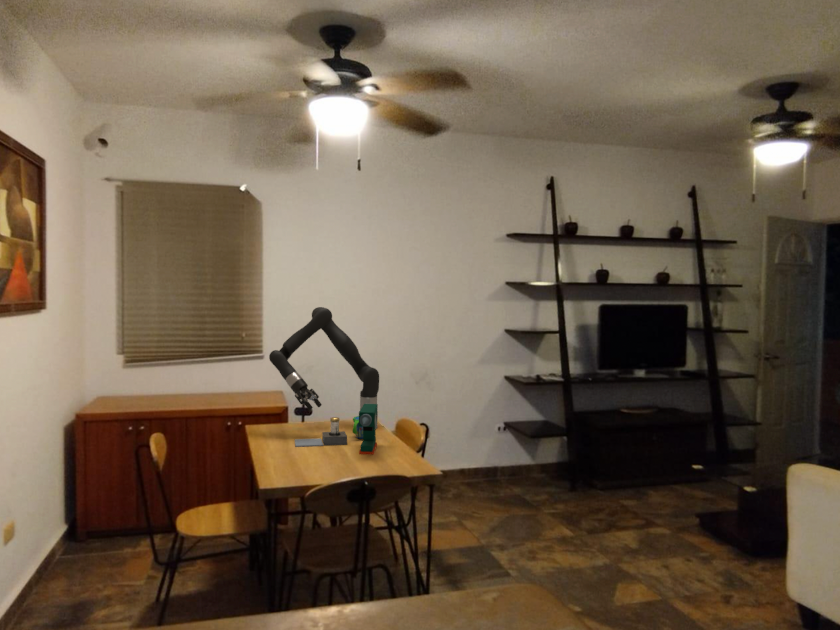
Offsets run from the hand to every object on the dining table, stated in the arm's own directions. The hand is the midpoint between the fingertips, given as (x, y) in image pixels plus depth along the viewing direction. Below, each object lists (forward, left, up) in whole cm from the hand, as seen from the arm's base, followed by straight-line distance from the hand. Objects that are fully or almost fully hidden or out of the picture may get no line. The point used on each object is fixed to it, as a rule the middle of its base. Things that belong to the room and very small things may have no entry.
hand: (315, 407), depth 308 cm
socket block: (-9, +6, -16) cm, 19 cm away
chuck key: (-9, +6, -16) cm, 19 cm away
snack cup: (-24, -2, -16) cm, 29 cm away
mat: (+4, +6, -16) cm, 18 cm away
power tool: (-22, +28, -16) cm, 39 cm away
